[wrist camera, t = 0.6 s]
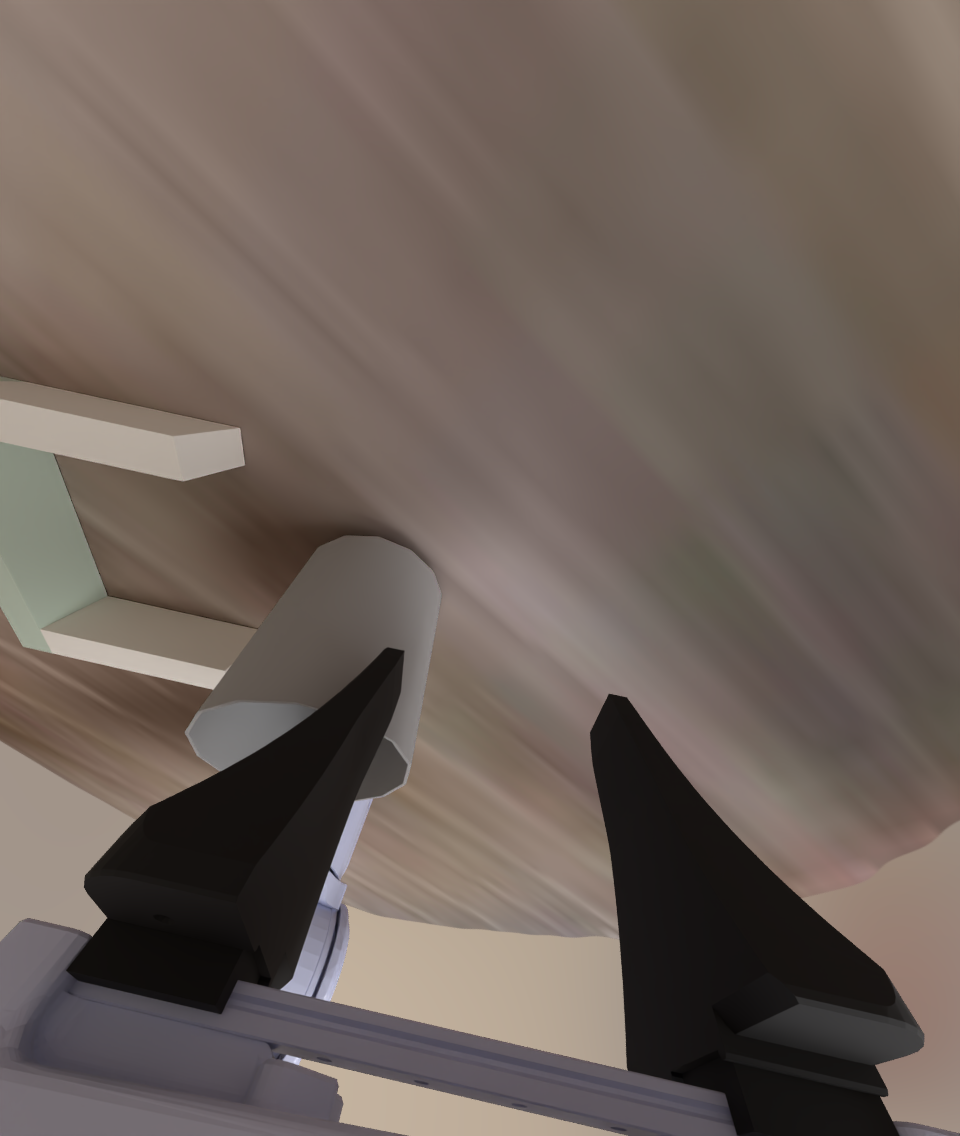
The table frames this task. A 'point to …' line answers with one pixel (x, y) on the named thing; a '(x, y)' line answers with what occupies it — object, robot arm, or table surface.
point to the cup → (329, 655)
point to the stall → (60, 550)
